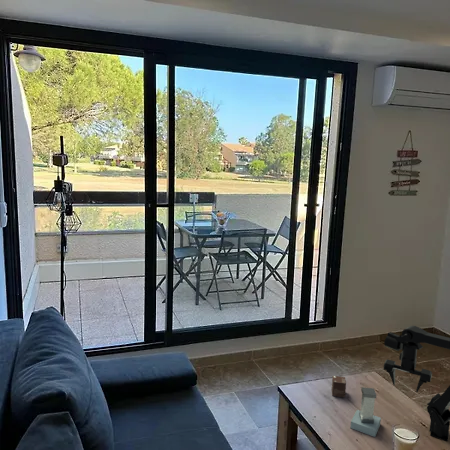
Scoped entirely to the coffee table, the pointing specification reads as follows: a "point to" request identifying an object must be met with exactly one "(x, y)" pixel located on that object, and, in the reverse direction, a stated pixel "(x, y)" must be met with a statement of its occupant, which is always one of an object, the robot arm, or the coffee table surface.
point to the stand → (365, 425)
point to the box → (338, 386)
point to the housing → (367, 405)
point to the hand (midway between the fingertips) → (405, 388)
